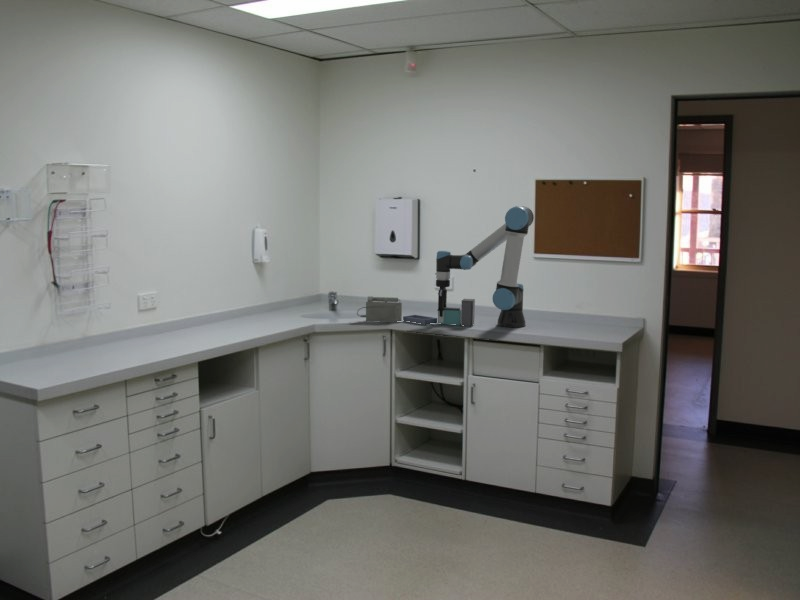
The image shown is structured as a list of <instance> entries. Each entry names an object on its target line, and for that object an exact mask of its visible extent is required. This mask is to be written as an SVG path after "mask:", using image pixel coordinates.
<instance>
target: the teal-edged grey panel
mask: <svg viewBox="0 0 800 600" xmlns="http://www.w3.org/2000/svg"><path fill="white" fill-rule="evenodd" d="M443 311H444V323H441V324H456V325H455V326H461V325H460V324H461V307H444V310H443ZM438 323H439V311H437V324H438Z"/></svg>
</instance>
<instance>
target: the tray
mask: <svg viewBox="0 0 800 600" xmlns="http://www.w3.org/2000/svg"><path fill="white" fill-rule="evenodd" d="M403 320H404V321H410V322H416V323H421V324H425V325H424V326H427V325H426V324H430V323H437V324H438V317H433V316H427V315H426V316H425V315H421V314H420V315H419V314H411V315H403V317H402V321H403Z"/></svg>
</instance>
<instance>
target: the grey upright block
mask: <svg viewBox="0 0 800 600" xmlns="http://www.w3.org/2000/svg"><path fill="white" fill-rule="evenodd" d="M475 303H476V300H475V298H463V299H462V300H461V307H460V310H461V325H464V326H463V327H466V326H472V327H473V326H474V325H475V309H476V308H475V306H476V305H475ZM473 324H474V325H473ZM461 325H460V326H461Z"/></svg>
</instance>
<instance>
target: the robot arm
mask: <svg viewBox="0 0 800 600" xmlns="http://www.w3.org/2000/svg"><path fill="white" fill-rule="evenodd" d="M534 218H535V217H534V212H533V211H532V210H531V208H530V207H528V206H519V205H518V206H517V205H516V206H513V207H511V208H509V209H508V210H507V211H506V213H505V216H504V221H505V222H504V223H503V225H501V226H499V228H497V229H496V230H495V231H494V232H492V233H491V234H490V235H488V236H487V237H485V239H483V240H482V241H481V242H479V243H478V244H477V245H476V246H474V247H473V248H472V249H470V250H469V251H468V252H467V253H465V254H458V255H457V254H456V255H455V254H451V251H450V250H438V251H437V252H436V259H435V264H436V271H435V274H434V275H435V278H436V279H435V286H436V287H437V288H439V290H438V291H437V295H438V300H437V302H438V303H437V304H438V305H437V310H436V311H437V312H438V311H439V323H444V311H443V310H444V307H447V298H448V297H447V296H448V295H447V294H448V289H447V288H449V287H450V286H451V280H450V279H451V270H463V271H468V270H471V269H472V268H473V267H474V266H475V265H477V263H478V262H479V261H481V260H482V259H484V258H485V257H486V256H488V255H489V254H490V253H491V252H492V251H494V250H495V249H497V248H498V247H499V246H500V245H503V243H505V248H504V254H503V261H502V268H501V274H500V279H499V280H498V281H496V286H495V291H494V292H493V294H492V303H493V305H494V306H495V307H496V308H498V309H499V310H500V313H499V316H498V318H497V326H500V327H505V328H522V327H526V319H525V314H524V311H523V306H524V285H523V284H521V283H518V277H519V276H518V275H519V272H520V271H519V269H520V265H521V264H520V263H521V258H522V257H521V256H522V252H523V246H524V245H523V244H524V240H525V239H524V238H525V237H526V236H527V235H528V232H529V227H530V226H531V225H532V224H533V223H534Z"/></svg>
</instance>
